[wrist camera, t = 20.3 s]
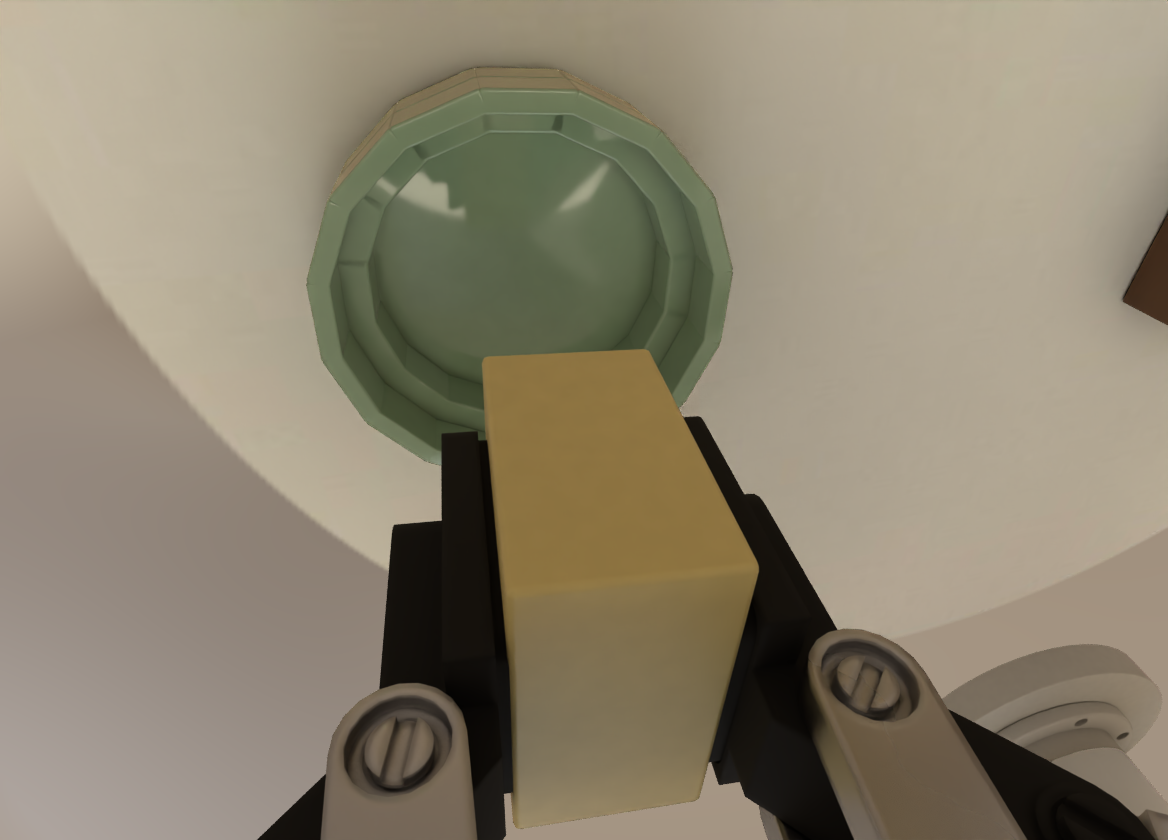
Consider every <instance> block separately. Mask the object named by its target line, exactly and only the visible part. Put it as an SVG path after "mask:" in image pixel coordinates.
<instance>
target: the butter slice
mask: <svg viewBox="0 0 1168 840" xmlns="http://www.w3.org/2000/svg"><path fill="white" fill-rule="evenodd" d="M482 373H483V393H484V412H485V432H486V440H487V443H488V454H489V465H490V475H491V486H492V497H493V508H494V519H495V529H496V540H497V551H498V562H499V573H500V583H501V594H502V605H503V616H504V627H505V638H506V652H507V659H508V664H509V675H510V705H511V736H512V766H513V793H511V802H512V815H513V823H514V825H515V827H516V828H518V829H524V828H530V827H537V826H543V825H549V824H555V823H562V822H568V821H574V820H580V819H586V818H593V817H599V816H605V815H611V814H617V813H624V812H630V811H636V810H643V809H648V808H655V807H661V806H668V805H674V804H680V803H686V802H693V801H696V800H697V799H699V797H700V793H701V789H702V785H703V782H704V778H705V774H706V770H707V766H708V763H709V759H710V755H711V751H712V747H713V744H714V740H715V736H716V732H717V728H718V725H719V721H720V717H721V713H722V709H723V706H724V702H725V698H726V694H727V690H728V687H729V683H730V679H731V675H732V671H733V668H734V664H735V660H736V656H737V653H738V649H739V645H740V641H741V637H742V634H743V630H744V626H745V622H746V618H747V615H748V611H749V607H750V603H751V599H752V596H753V592H754V588H755V584H756V580H757V577H758V573H759V566H758V562H757V560H756V558H755V557H754V555H753V553H752V551H751V549H750V547H749V545H748V543H747V541H746V539H745V537H744V535H743V533H742V531H741V529H740V527H739V525H738V523H737V521H736V520H735V518H734V516H733V514H732V512H731V510H730V508H729V506H728V504H727V502H726V500H725V498H724V496H723V494H722V492H721V490H720V488H719V486H718V484H717V483H716V481H715V479H714V477H713V475H712V473H711V471H710V469H709V467H708V465H707V463H706V461H705V459H704V457H703V455H702V453H701V451H700V449H699V447H698V445H697V444H696V442H695V440H694V438H693V436H692V434H691V432H690V430H689V428H688V426H687V424H686V422H685V420H684V418H683V416H682V414H681V412H680V410H679V408H678V407H677V405H676V403H675V401H674V399H673V397H672V395H671V393H670V391H669V389H668V387H667V385H666V383H665V381H664V379H663V377H662V375H661V373H660V371H659V370H658V368H657V366H656V364H655V362H654V360H653V358H652V356H651V354H650V352H649V351H648V350H645V349H635V350H614V351H594V352H573V353H552V354H531V355H510V356H489V357H485V358H484V359H483V362H482Z"/></svg>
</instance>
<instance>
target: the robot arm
mask: <svg viewBox="0 0 1168 840" xmlns="http://www.w3.org/2000/svg"><path fill="white" fill-rule="evenodd" d="M683 418H684V420H685V422H686V424H687V426H688V428H689V430H690V432H691V434H692V436H693V438H694V440H695V442H696V444H697V445H698V447H699V449H700V451H701V453H702V455H703V457H704V459H705V461H706V463H707V465H708V467H709V469H710V471H711V473H712V475H713V477H714V479H715V481H716V483H717V484H718V486H719V488H720V490H721V492H722V494H723V496H724V498H725V500H726V502H727V504H728V506H729V508H730V510H731V512H732V514H733V516H734V518H735V520H736V521H737V523H738V525H739V527H740V529H741V531H742V533H743V535H744V537H745V539H746V541H747V543H748V545H749V547H750V549H751V551H752V553H753V555H754V557H755V558H756V560H757V562H758V566H759V573H758V577H757V580H756V584H755V588H754V592H753V596H752V599H751V603H750V607H749V611H748V615H747V618H746V622H745V626H744V630H743V634H742V637H741V641H740V645H739V649H738V653H737V656H736V660H735V664H734V668H733V671H732V675H731V679H730V683H729V687H728V690H727V694H726V698H725V702H724V706H723V709H722V713H721V717H720V721H719V725H718V728H717V732H716V736H715V740H714V744H713V747H712V751H711V755H710V759H709V762H712V766H713V768H714V771H715V775H716V778H717V781H718V784H719V785H723V784H729V783H735V782H740V784H741V786H742V789H743V792H744V795H745V797H747V798H748V799H750V800H751V801H753V802H754V803H756V804H757V805H759V809H760V815H761V819H762V822H763V826H764V829H765V832H766V835H767V838H768V840H1168V803H1167V802H1166V801H1165V800H1164V799H1163V797H1162V796H1161V795H1160V794H1159V792H1158V791H1157V790H1156V789H1155V788H1154V787H1153V786H1152V784H1151V783H1150V782H1149V781H1148V780H1147V778H1146V777H1145V776H1144V775H1143V774H1142V772H1141V771H1140V770H1139V769H1138V768H1137V766H1136V765H1135V764H1134V763H1133V762H1132V761H1131V759H1130V758H1129V757H1128V756H1127V755H1126V753H1125V752H1124V751H1125V749H1126V748H1127V747H1128V745H1129V742H1130V740H1131V738H1132V730H1133V728H1132V725H1131V723H1130V721H1129V720H1128V719H1127V718H1126V717H1125V716H1124V715H1123V713H1122V712H1121V711H1120V710H1119V709H1118V708H1116V707H1114V706H1112V705H1110V704H1106V703H1101V702H1078V703H1070V704H1066V705H1061V706H1057V707H1053V708H1050V709H1047V710H1044V711H1041V712H1038V713H1035V714H1033V715H1031V716H1028V717H1026V718H1023V719H1021V720H1019V721H1017V722H1015V723H1013V724H1011V725H1009V726H1007V727H1005V728H1003V729H1002V730H1000V731H999V732H997V733H993V732H991V731H989V730H988V729H986V728H984V727H982V726H980V725H978V724H976V723H974V722H972V721H970V720H968V719H966V718H964V717H962V716H960V715H958V714H957V713H955V712H953V711H951V710H949V709H947V707H946V705H945V704H944V702H943V701H942V699H941V697H940V696H939V694H938V692H937V691H936V689H935V687H934V686H933V684H932V682H931V681H930V679H929V678H928V676H927V675H926V673H925V671H924V670H923V669H922V668H921V666H920V665H919V664H918V663H917V661H916V660H915V659H914V657H912V656H911V655H910V654H909V653H907V652H906V651H905V650H904V649H903V648H901V647H900V646H899V645H898V644H896V643H894V642H892V641H890V640H888V639H886V638H884V637H883V636H881V635H878V634H875V633H871V632H868V631H864V630H859V629H840V630H837V628H836V626H835V625H834V623H833V621H832V619H831V618H830V616H829V614H828V612H827V611H826V609H825V607H824V606H823V604H822V602H821V600H820V599H819V597H818V595H817V593H816V592H815V590H814V588H813V586H812V585H811V583H810V581H809V580H808V578H807V576H806V574H805V573H804V571H803V569H802V567H801V566H800V564H799V562H798V561H797V559H796V557H795V555H794V554H793V552H792V550H791V548H790V547H789V545H788V543H787V542H786V540H785V538H784V536H783V535H782V533H781V531H780V529H779V528H778V526H777V524H776V523H775V521H774V519H773V517H772V516H771V514H770V512H769V510H768V509H767V507H766V505H765V504H764V502H763V501H762V500H761V498H760V497H759V496H757V495H755V494H744V493H743V491H742V490H741V488H740V486H739V484H738V482H737V481H736V479H735V477H734V475H733V473H732V471H731V470H730V468H729V466H728V464H727V462H726V461H725V459H724V457H723V455H722V453H721V452H720V450H719V448H718V446H717V444H716V442H715V441H714V439H713V437H712V435H711V433H710V432H709V430H708V428H707V426H706V424H705V422H704V421H703V419H702V418H701V417H698V416H696V417H683ZM441 470H442V521H433V522H421V523H410V524H398V525H394V527H393V530H392V539H391V551H390V564H389V576H388V577H389V578H388V589H387V601H386V614H385V626H384V639H383V651H382V664H381V676H380V689H379V690H377V691H375V692H374V693H372V694H371V695H369V696H367V697H365V698H364V699H362V700H360V701H359V702H358V703H357V704H356V705H355V706H354V707H353V708H352V709H351V710H350V711H349V712H348V713H347V714H346V715H345V716H344V717H343V719H342V721H341V722H340V724H339V725H338V727H337V729H336V731H335V732H334V734H333V736H332V740H331V744H330V748H329V752H328V757H327V769H326V774H325V775H324V776H323V777H322V778H321V779H320V780H319V781H318V782H317V783H316V784H315V785H314V786H313V787H312V788H311V789H309V791H307V792H306V794H304V795H303V796H302V797H301V798H300V799H299V800H298V801H297V802H296V803H295V804H294V805H293V806H292V807H291V808H290V809H289V810H288V811H287V812H285V813H284V814H283V815H282V816H281V817H280V818H279V819H278V820H277V821H276V822H275V823H274V824H273V825H272V826H271V827H270V828H269V829H268V830H267V831H266V832H265V833H264V834H263V835H262V836H260V837H259V838H258V840H503V839H504V837H505V836H506V829H505V807H504V794H506V793H513V766H512V736H511V705H510V675H509V664H508V659H507V652H506V638H505V627H504V616H503V605H502V594H501V583H500V573H499V562H498V551H497V540H496V529H495V519H494V508H493V497H492V486H491V475H490V465H489V454H488V443H487V440H478V431H470V432H455V433H442V435H441Z"/></svg>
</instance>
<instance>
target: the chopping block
mask: <svg viewBox="0 0 1168 840" xmlns="http://www.w3.org/2000/svg"><path fill="white" fill-rule="evenodd" d="M1123 302H1124V303H1126V304H1128V305H1130V306H1132V307H1134V308H1136V309H1137V310H1139V311H1141V312H1143V313H1145V314H1147V315H1149V316H1151V317H1153V318H1155V319H1157V320H1159V321H1160V322H1162V323H1164V324H1166V325H1168V215H1167V217H1166V219H1165V221H1164V223H1163V225H1162V227H1161V228H1160V230H1159V232H1158V234H1157V236H1156V238H1155V240H1154V242H1153V244H1152V246H1151V248H1150V249H1149V251H1148V253H1147V255H1146V257H1145V259H1144V261H1143V263H1142V265H1141V267H1140V268H1139V270H1138V272H1137V274H1136V276H1135V278H1134V280H1133V282H1132V284H1131V286H1130V288H1129V289H1128V291H1127V293H1126V295H1125V297H1124V299H1123Z"/></svg>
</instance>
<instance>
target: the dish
mask: <svg viewBox="0 0 1168 840" xmlns="http://www.w3.org/2000/svg"><path fill="white" fill-rule="evenodd" d="M732 269H733V268H732V264H731V260H730V256H729V252H728V248H727V244H726V240H725V235H724V231H723V227H722V223H721V219H720V215H719V211H718V207H717V203H716V199H715V197H714V195H713V193H712V191H711V190H710V189H709V188H708V186H707V185H706V184H705V183H704V181H703V180H702V179H701V178H700V176H699V175H698V174H697V173H696V171H695V170H694V169H693V168H692V167H691V165H690V164H689V163H688V162H687V160H686V159H685V158H684V157H683V155H682V154H681V153H680V152H679V150H678V149H677V148H676V147H675V145H674V144H673V143H672V142H671V140H670V139H669V138H668V137H667V135H666V134H665V133H664V132H663V131H662V130H661V129H660V128H658V127H657V126H656V125H655V124H654V123H653V122H651V121H650V120H649V119H648V118H646V117H645V116H644V115H643V114H642V113H640V112H639V111H638V110H637V109H636V108H634V107H633V106H632V105H631V104H630V103H628V102H626V101H624V100H622V99H620V98H618V97H615V96H613V95H611V94H609V93H607V92H605V91H603V90H601V89H599V88H597V87H595V86H593V85H591V84H589V83H587V82H585V81H583V80H581V79H579V78H577V77H575V76H573V75H571V74H569V73H567V72H565V71H563V70H559V71H558V70H557V69H542V68H494V67H477V68H475V69H474V68H471V69H468V70H466V71H464V72H462V73H459V74H457V75H455V76H453V77H450V78H448V79H446V80H444V81H441V82H439V83H437V84H435V85H433V86H430V87H428V88H426V89H424V90H421V91H419V92H417V93H415V94H412V95H410V96H408V97H406V98H403V99H401V100H399V101H398V104H397V103H396V104H394V105H393V106H392V108H391V109H390V110H389V111H388V112H387V113H386V115H385V116H384V117H383V118H382V119H381V121H380V122H379V123H378V124H377V125H376V126H375V128H374V129H373V130H372V131H371V132H370V133H369V135H368V136H367V137H366V138H365V139H364V141H363V142H362V143H361V144H360V145H359V146H358V148H357V149H356V150H355V151H354V152H353V153H352V155H351V156H350V157H349V158H348V159H347V161H346V162H345V164H344V166H343V168H342V170H341V172H340V174H339V177H338V179H337V181H336V183H335V185H334V187H333V189H332V191H331V194H330V196H329V198H328V200H327V203H326V207H325V211H324V215H323V218H322V222H321V226H320V230H319V234H318V238H317V242H316V245H315V249H314V253H313V257H312V261H311V265H310V269H309V273H308V276H307V284H306V286H307V291H308V296H309V301H310V306H311V311H312V316H313V321H314V326H315V331H316V336H317V340H318V345H319V350H320V355H321V360H322V361H323V363H324V365H325V366H326V367H327V369H328V370H329V372H330V373H331V374H332V376H333V377H334V379H335V380H336V381H337V383H338V384H339V386H340V387H341V388H342V390H343V391H344V393H345V394H346V395H347V397H348V398H349V400H350V401H351V402H352V404H353V405H354V407H355V408H356V409H357V411H358V412H359V414H360V415H361V416H362V418H363V419H364V421H365V422H366V423H367V424H368V425H370V426H371V427H373V428H375V429H376V430H378V431H379V432H381V433H382V434H384V435H385V436H387V437H388V438H390V439H392V440H393V441H395V442H396V443H398V444H399V445H401V446H402V447H404V448H405V449H407V450H409V451H410V452H412V453H413V454H415V455H416V456H418V457H419V458H421V459H423V460H424V461H426V462H427V461H428V462H429V463H432V464H436V465H441V435H442V433H455V432H470V431H478V440H486V432H485V412H484V393H483V373H482V362H483V359H484V358H485V357H489V356H510V355H531V354H552V353H573V352H594V351H614V350H635V349H645V350H648V351H649V352H650V354H651V356H652V358H653V360H654V362H655V364H656V366H657V368H658V370H659V371H660V373H661V375H662V377H663V379H664V381H665V383H666V385H667V387H668V389H669V391H670V393H671V395H672V397H673V399H674V401H675V403H676V405H677V407H678V408H679V407H681V406H682V405H683V403H684V402H685V401H686V400H687V398H688V396H689V395H690V393H691V391H692V390H693V388H694V386H695V385H696V383H697V382H698V380H699V378H700V377H701V375H702V373H703V372H704V370H705V368H706V367H707V365H708V363H709V362H710V360H711V358H712V357H713V355H714V353H715V352H716V350H717V348H718V347H719V345H720V342H721V338H722V333H723V327H724V321H725V315H726V309H727V303H728V298H729V292H730V286H731V280H732V274H733V272H732Z"/></svg>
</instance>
